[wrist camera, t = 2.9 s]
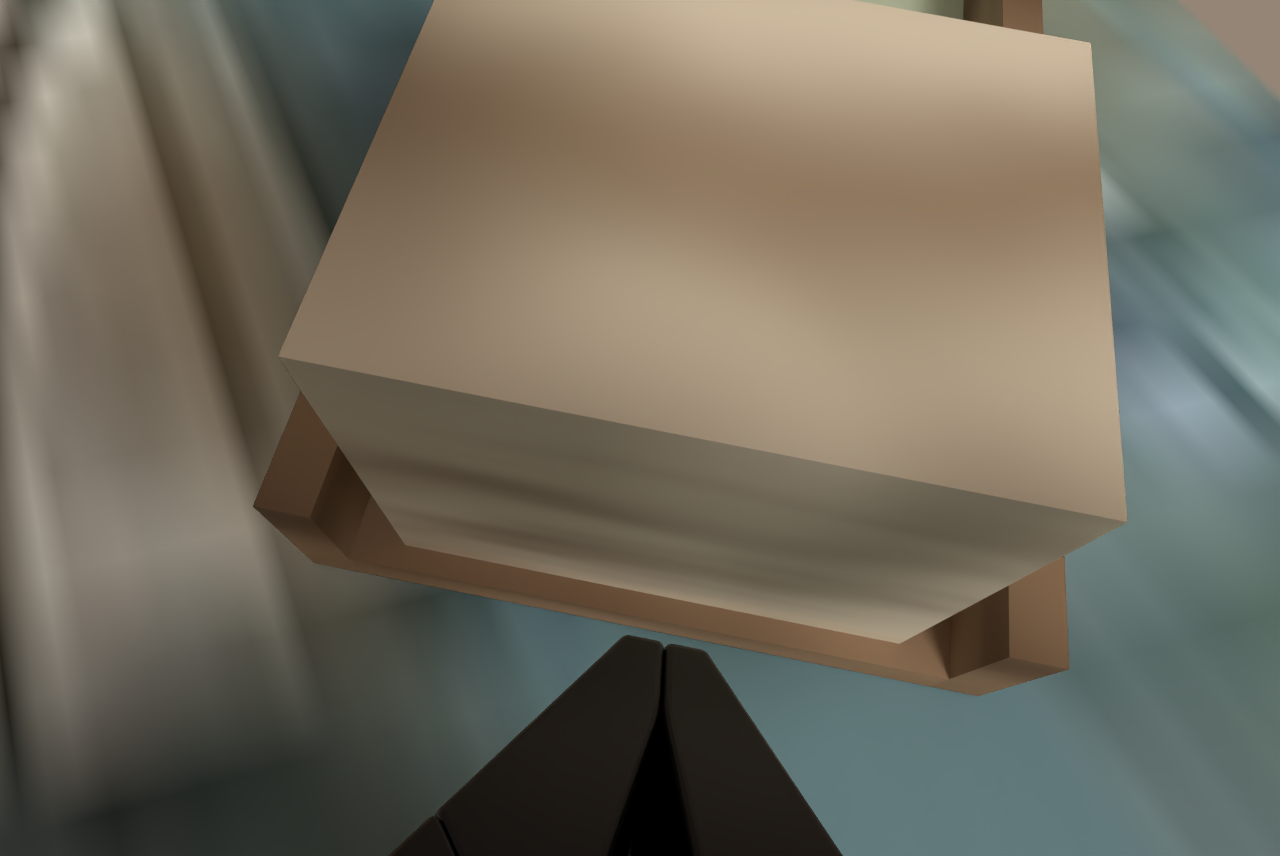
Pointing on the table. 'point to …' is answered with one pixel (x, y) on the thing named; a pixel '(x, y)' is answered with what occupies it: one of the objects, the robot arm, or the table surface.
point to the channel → (937, 657)
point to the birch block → (730, 304)
